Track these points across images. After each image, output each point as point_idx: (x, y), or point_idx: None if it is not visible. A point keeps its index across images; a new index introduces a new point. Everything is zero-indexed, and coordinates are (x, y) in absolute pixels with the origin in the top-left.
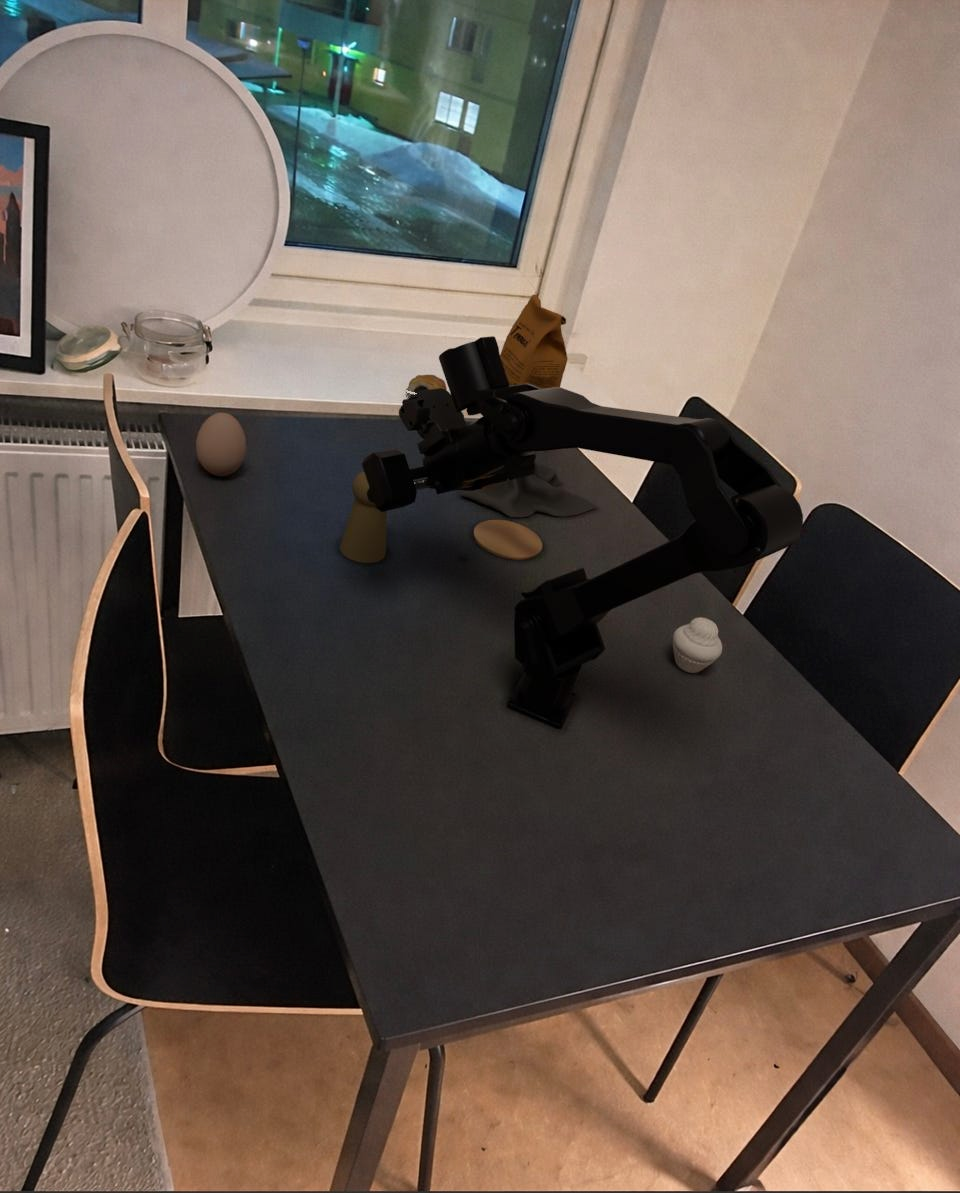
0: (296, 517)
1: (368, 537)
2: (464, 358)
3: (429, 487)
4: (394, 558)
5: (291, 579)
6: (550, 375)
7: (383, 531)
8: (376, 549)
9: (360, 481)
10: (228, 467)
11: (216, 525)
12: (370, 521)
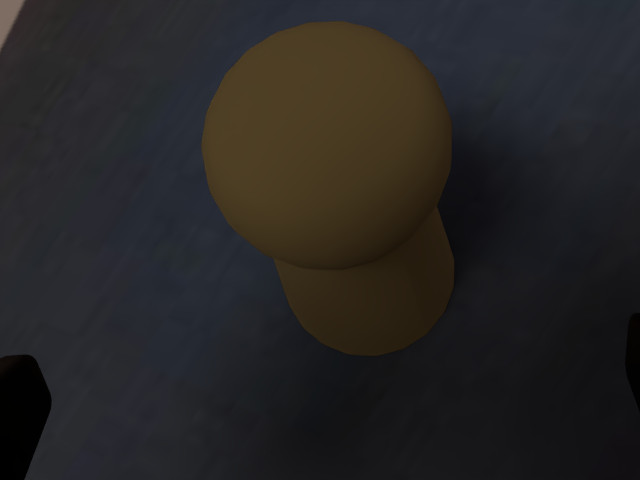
0: None
1: (316, 311)
2: None
3: (629, 380)
4: (458, 357)
5: (47, 345)
6: None
7: (389, 308)
8: (363, 338)
9: (207, 124)
10: None
11: (38, 37)
12: (304, 282)
